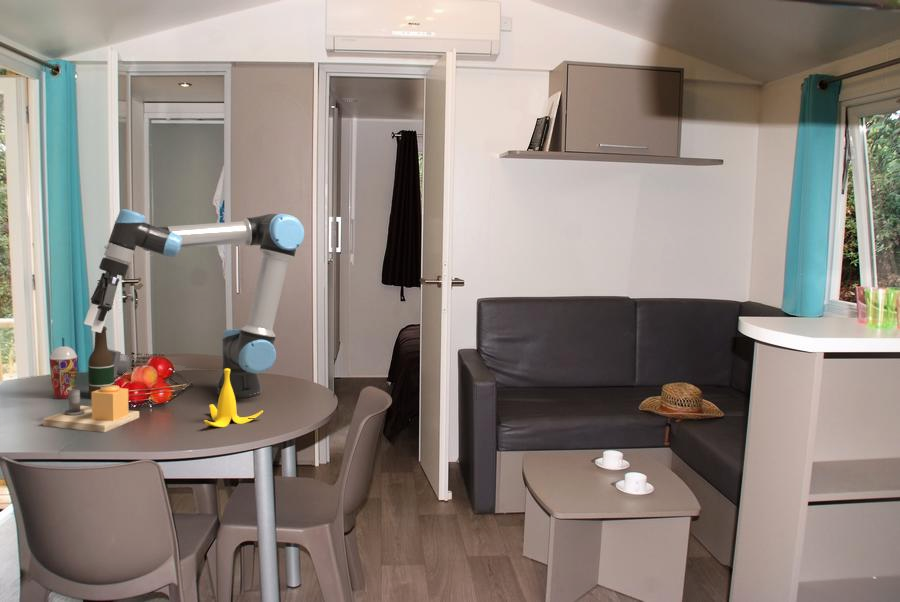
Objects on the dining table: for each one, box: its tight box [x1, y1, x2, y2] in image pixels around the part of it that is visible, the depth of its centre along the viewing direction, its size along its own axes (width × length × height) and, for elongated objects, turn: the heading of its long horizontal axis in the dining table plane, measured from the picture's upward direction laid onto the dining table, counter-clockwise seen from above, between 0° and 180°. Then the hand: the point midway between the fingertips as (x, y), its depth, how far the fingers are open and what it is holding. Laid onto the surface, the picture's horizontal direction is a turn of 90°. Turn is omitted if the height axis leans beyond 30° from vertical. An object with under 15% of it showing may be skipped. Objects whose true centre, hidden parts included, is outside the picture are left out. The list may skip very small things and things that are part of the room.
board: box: [42, 388, 140, 433], centre depth 212 cm, size 20×16×9 cm
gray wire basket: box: [108, 348, 165, 379], centre depth 273 cm, size 27×11×10 cm, turn 89°
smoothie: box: [48, 337, 79, 400], centre depth 238 cm, size 8×8×20 cm
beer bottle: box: [87, 325, 115, 400], centre depth 240 cm, size 8×8×24 cm
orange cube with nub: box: [91, 384, 129, 421], centre depth 211 cm, size 7×7×9 cm
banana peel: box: [203, 368, 264, 428], centre depth 214 cm, size 17×19×17 cm
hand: (92, 328), depth 211 cm, fingers open, 13 cm apart
